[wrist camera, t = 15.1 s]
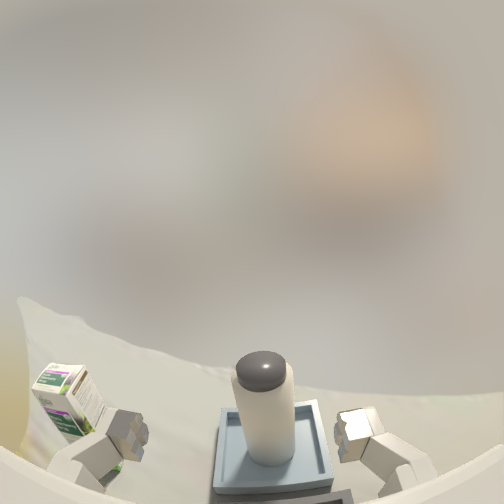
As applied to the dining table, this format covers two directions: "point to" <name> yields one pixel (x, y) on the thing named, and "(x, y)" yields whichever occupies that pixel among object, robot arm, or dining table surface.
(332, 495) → the frame
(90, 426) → the syrup box
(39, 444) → the dining table surface
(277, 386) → the canister
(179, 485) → the dining table surface
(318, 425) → the tray
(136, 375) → the dining table surface
